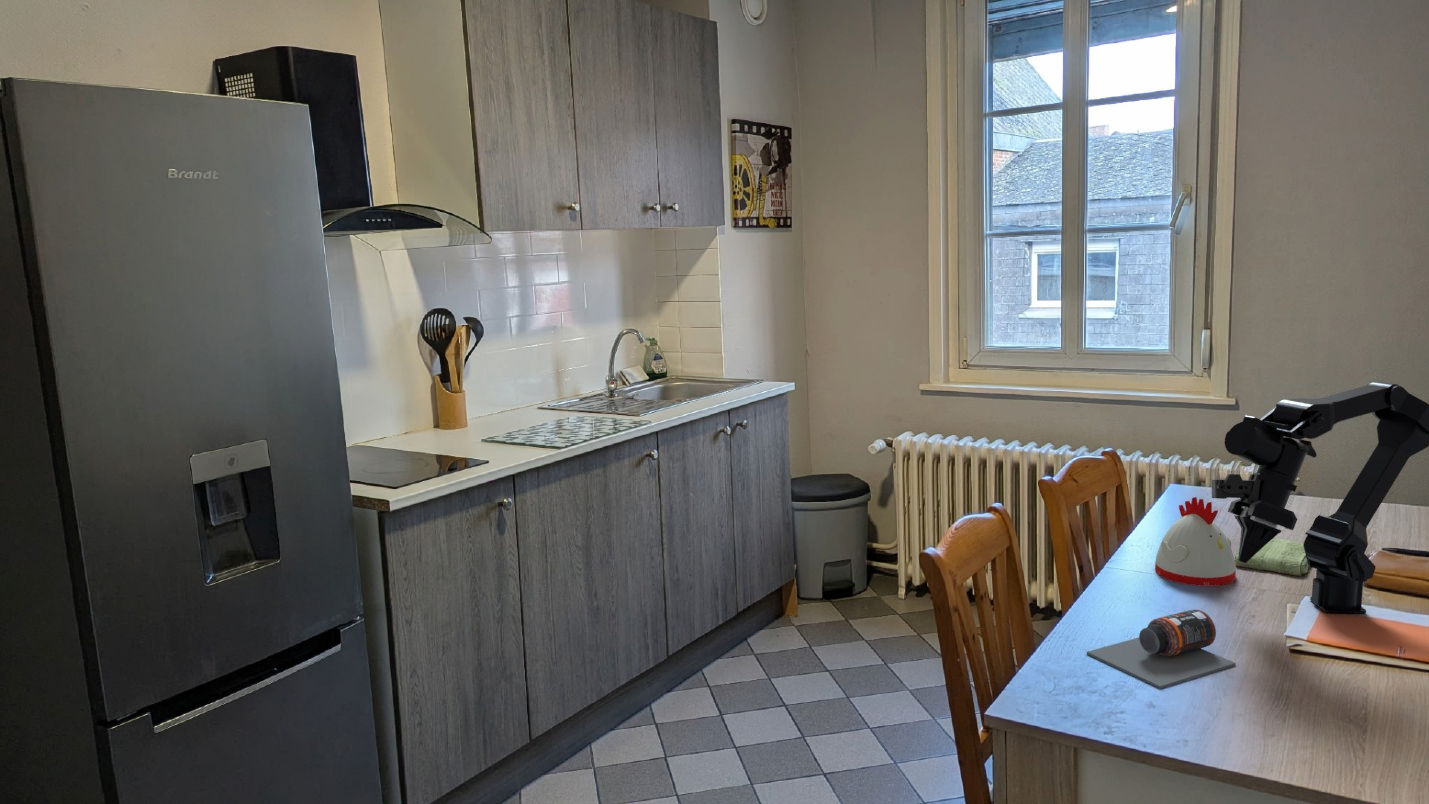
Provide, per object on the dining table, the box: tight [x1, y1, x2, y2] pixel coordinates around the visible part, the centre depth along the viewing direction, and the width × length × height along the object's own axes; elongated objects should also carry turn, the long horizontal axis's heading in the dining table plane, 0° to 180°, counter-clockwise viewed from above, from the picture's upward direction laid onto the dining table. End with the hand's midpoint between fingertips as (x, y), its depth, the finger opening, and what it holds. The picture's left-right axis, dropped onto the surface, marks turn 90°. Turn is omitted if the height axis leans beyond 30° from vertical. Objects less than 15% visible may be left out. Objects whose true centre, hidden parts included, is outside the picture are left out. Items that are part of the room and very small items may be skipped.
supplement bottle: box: [1138, 609, 1217, 657], centre depth 155 cm, size 6×6×11 cm
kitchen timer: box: [1154, 496, 1237, 587], centre depth 190 cm, size 14×14×15 cm
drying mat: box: [1086, 637, 1236, 690], centre depth 154 cm, size 16×14×1 cm
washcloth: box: [1234, 538, 1309, 577], centre depth 197 cm, size 13×18×3 cm
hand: (1241, 561), depth 164 cm, fingers closed
